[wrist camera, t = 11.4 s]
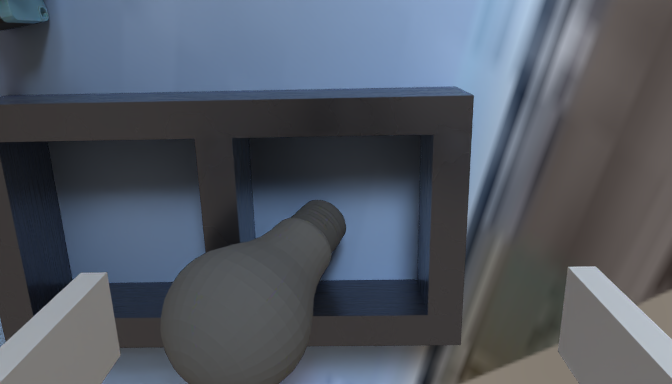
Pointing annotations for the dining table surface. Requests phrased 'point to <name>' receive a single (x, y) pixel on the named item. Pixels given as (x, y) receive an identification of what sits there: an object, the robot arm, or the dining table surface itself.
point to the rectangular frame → (242, 198)
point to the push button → (21, 13)
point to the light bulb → (250, 302)
